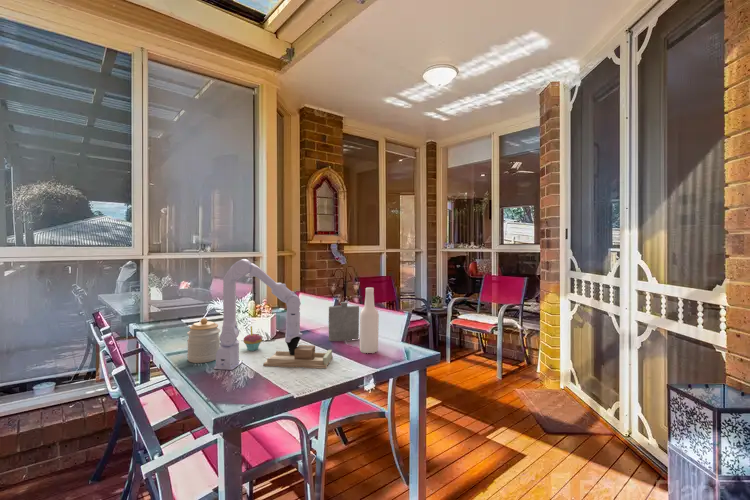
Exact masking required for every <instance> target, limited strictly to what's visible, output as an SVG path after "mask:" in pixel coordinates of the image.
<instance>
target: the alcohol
mask: <svg viewBox="0 0 750 500" xmlns="http://www.w3.org/2000/svg"><path fill="white" fill-rule="evenodd" d="M364 289H365V297H364V306H363V307H362V309H361V311H360V312H359V350H360V352H361V353H362V354H366V353H367V355H368V353H372V354H376V353H378V351H379V324H380V323H379V322H380V321H379V317H380V314H379V311H378V310H377V308H376V306H375V293H374V292H375V291H374V290H375V288H374V287H370V286H369V287H366V288H364ZM375 352H376V353H375Z"/></svg>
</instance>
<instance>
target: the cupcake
mask: <svg viewBox="0 0 750 500" xmlns="http://www.w3.org/2000/svg"><path fill="white" fill-rule="evenodd" d="M242 341H243V343H244V344H245V346H246V348H247V349H246V350H247V351H250V352H251V351H253V352H254V351H257V350H258V349H259V347H260V344H261V343H262V341H263V337H262V336H261V335H260V334H257V333H253V326H252V325H250V334H247V335H245V337H244V338H243V340H242Z"/></svg>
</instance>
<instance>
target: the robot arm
mask: <svg viewBox="0 0 750 500" xmlns="http://www.w3.org/2000/svg"><path fill="white" fill-rule="evenodd" d="M247 274H248V277H256V278H257V279H259V281H260V282H262V283H263V284H265V285H266V286H268V287H269V288H270V290H271V294H272V295H273V296H275V297H276V298H277V299H278V300H279V301H281V302H282V303H285V306H286V313H285V322H286V323H285V337H284V343H286V345H287V347H288V352H289V353H290V355H295V349H296V348H297V347H298V346H299V343H300V340H301V336H303V333H302V332H301V326H300V325H301V323H300V322H301V312H300V310H301V309H300V306H301V300H300V297H299V295H297V294H296V293H295V291H293V290H290V289H289V288H288V287H287V284H286V283H282V282H276V281H275V280H274V279H273V278H272V277H271V276H270V275H268V274H267V273H266V272H265V271H264V270H263V269H261V267H259V266H258V265H257V264H255V263H253V262H251V261H250V259H246V258H242V259H240V260H237V261H236V262H234V263H233V264H232V265H231V266H230V268H229V269H228V270H227V272H226V273H225V275H224V276H223V279H222V283H223V284H222V286H223V287H222V288H223V289H222V291H223V292H222V293H223V296H222V297H223V298H222V300H223V305H222V306H223V310H222V311H223V315H222V316H223V319H222V320H223V323H222V326H221V328H222V329H221V333H220V334H219V337H220V348H219V350H218V351H217V352H216V360H215V366H214V367H213V369H214V370H228V371H229V370H230V371H233V370H234V369H236V368H237V367H238V366H240V365H241V364H243V362H244V361H243V360H240V341H239V339H237V338H238V336H239V335H240V330H239V328H238V325H237V312H236V311H237V308H236V307H237V297H236V296H237V294H236V293H237V290H236V289H237V285H236V284H237V283H236V282H237V281H238V280H239V279H241V278H242V277H245V276H246V275H247Z"/></svg>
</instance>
